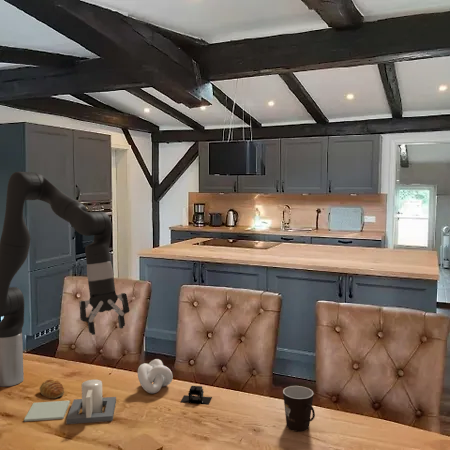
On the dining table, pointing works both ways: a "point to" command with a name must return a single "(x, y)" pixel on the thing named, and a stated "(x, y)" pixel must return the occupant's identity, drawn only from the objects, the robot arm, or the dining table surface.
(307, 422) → the coffee mug
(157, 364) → the white knot sculpture
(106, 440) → the dining table surface
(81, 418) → the socket
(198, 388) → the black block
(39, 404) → the trivet
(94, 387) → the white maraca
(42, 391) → the pastry
